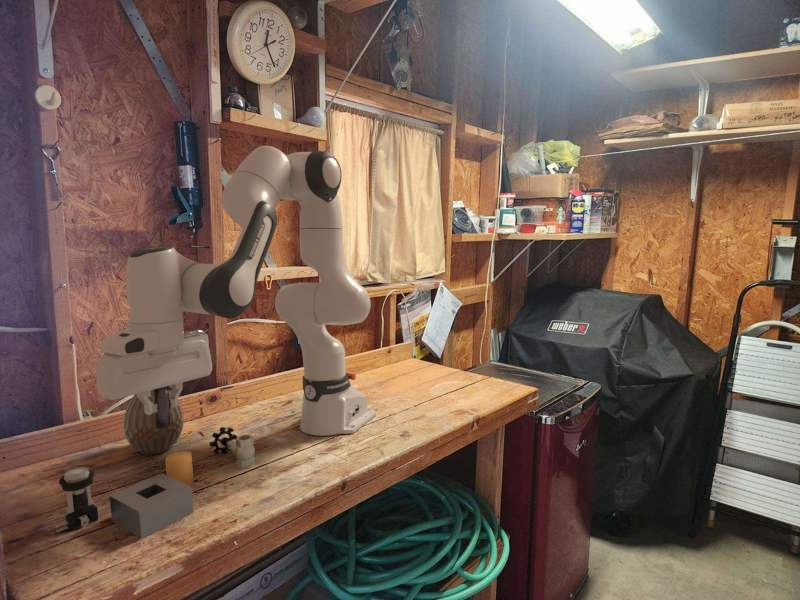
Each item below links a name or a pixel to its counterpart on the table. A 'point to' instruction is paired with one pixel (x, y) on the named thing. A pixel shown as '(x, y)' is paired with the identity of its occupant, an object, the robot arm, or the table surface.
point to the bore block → (151, 505)
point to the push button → (78, 498)
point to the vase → (150, 428)
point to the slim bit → (162, 407)
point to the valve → (236, 447)
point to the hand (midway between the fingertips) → (161, 410)
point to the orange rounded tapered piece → (180, 467)
